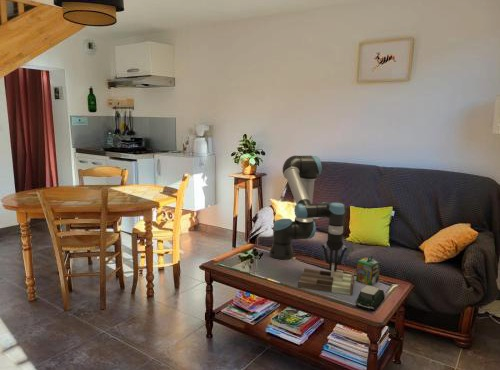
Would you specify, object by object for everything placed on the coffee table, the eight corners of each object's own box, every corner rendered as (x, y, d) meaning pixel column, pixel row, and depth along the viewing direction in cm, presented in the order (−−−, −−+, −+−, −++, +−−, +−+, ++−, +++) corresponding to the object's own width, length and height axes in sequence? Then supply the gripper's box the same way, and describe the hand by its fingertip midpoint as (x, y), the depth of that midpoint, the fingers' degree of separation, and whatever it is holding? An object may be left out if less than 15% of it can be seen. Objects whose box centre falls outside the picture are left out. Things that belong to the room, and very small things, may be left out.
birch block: (334, 277, 203) (334, 269, 203) (342, 278, 202) (343, 270, 201) (333, 280, 199) (333, 272, 198) (342, 282, 198) (342, 273, 197)
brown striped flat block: (304, 273, 216) (305, 263, 215) (353, 280, 208) (354, 269, 207) (298, 287, 197) (298, 276, 196) (352, 295, 189) (352, 283, 188)
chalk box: (363, 276, 214) (365, 251, 212) (379, 281, 208) (381, 255, 205) (355, 280, 208) (357, 254, 205) (370, 286, 201) (373, 259, 199)
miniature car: (385, 299, 187) (386, 283, 185) (373, 313, 172) (374, 296, 171) (367, 294, 192) (368, 278, 190) (354, 307, 177) (355, 291, 176)
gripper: (321, 233, 196) (319, 277, 200) (347, 236, 192) (344, 280, 196) (323, 229, 203) (321, 272, 207) (348, 232, 199) (345, 275, 203)
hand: (332, 276), depth 201 cm, fingers closed
